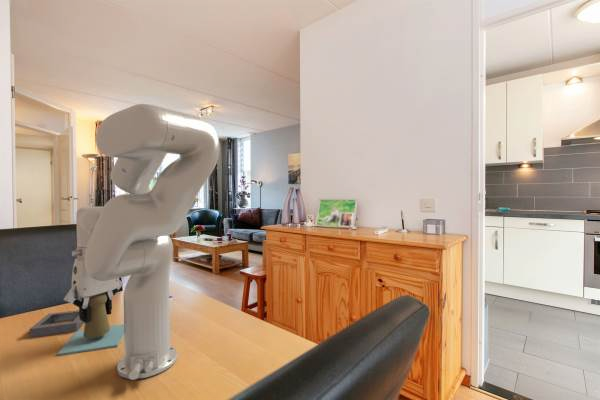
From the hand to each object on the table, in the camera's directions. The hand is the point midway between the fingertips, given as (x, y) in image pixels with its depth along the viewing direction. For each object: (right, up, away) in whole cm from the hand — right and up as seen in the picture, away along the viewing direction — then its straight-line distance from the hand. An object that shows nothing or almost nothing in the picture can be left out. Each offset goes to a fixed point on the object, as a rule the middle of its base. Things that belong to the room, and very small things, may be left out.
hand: (96, 316), depth 81 cm
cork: (0, -5, 0) cm, 5 cm away
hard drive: (+1, -6, +30) cm, 30 cm away
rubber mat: (0, -6, 0) cm, 6 cm away
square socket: (-16, -6, +8) cm, 19 cm away
